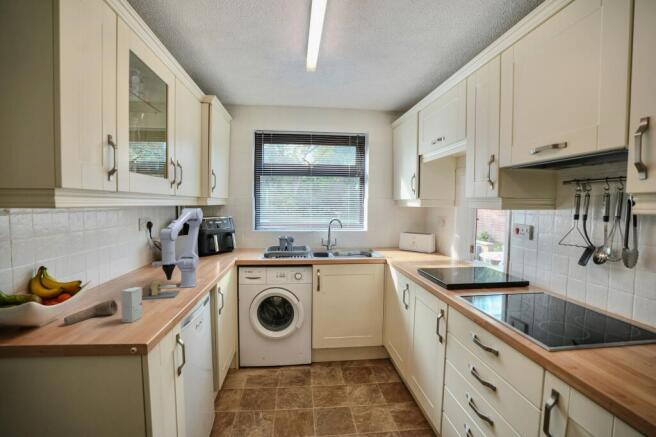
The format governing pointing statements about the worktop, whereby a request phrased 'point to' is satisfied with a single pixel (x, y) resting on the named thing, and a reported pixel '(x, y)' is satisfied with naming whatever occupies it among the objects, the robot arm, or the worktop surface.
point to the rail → (164, 294)
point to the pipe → (93, 312)
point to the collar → (156, 287)
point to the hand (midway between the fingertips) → (169, 279)
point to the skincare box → (131, 304)
